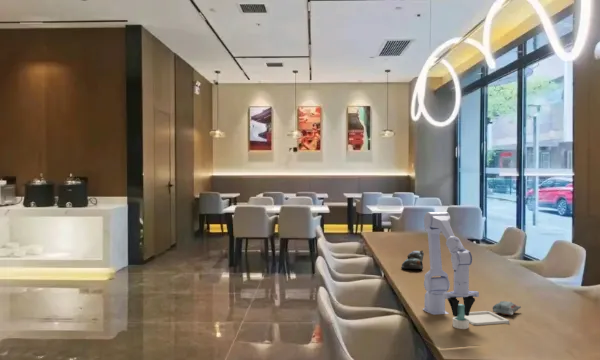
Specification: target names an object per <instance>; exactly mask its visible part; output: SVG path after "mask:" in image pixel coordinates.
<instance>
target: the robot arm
mask: <svg viewBox="0 0 600 360" xmlns="http://www.w3.org/2000/svg"><path fill="white" fill-rule="evenodd" d="M451 220H452V219H451V215H450V213H449V212H448V211H442V212H441V211H437V212H436V211H434V212H433V211H431V212H430V211H427V212H425V215H424V217H423V223H424V225H423V227H424V231H426V233H427V242H428V255H429V268H430V269H429V270H428V271H427V272H426V273H425V274H424V280H423V288H424V290H425V291H426V292H425V293H424V308H422V310H423V311H425V312H427V313H428V314H430V315H447V314H448V315H449V314H450V313H449V312H447V310H446V300H447V301H448V303H449V305H450V308H451V312H452V313H451V314H452V316H453V317H457V315H458V304H460V300H458V299H459V298H462V299H463V305H465V315H466V316H469V312H471V308H472V307H473V305H474V303H475V301H476V298H479V297H480V294H479V291H476V290H470V266H471V265H472V264H473V255H472V253H471V251H470V250H468V249H467V248H465V246H464V245H463V243H462V241H461V239H460V238H459V237H458V236H455V234H454V230H453V229H452V226H451ZM441 233H442V235H443V236H444V238H445V239H446V241H445V245H446V247H447V248H448V251H449V253H450V255H451V256H450V261H451V264H452V266H451V268H452V270H453V290H451V291H449V290H450V287H451V283H450V280H449V279H450V278H449V275H448V273H447V272H446V271H444V270H443V263H442V252H441V251H442V250H441V238H440V234H441ZM475 297H476V298H475Z"/></svg>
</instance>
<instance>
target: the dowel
mask: <svg viewBox="0 0 600 360" xmlns="http://www.w3.org/2000/svg"><path fill="white" fill-rule="evenodd" d="M464 318H465V305H464V303H459V304H458V315H457V320H461V321H464Z"/></svg>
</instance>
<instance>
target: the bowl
mask: <svg viewBox="0 0 600 360" xmlns="http://www.w3.org/2000/svg"><path fill="white" fill-rule="evenodd" d="M469 327H470V323H469V319H468V318H464V321H461V320H457V317H455V316H453V317H452V328H455V329H458V330H459V329H460V330H466V329H469Z"/></svg>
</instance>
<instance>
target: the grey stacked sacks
mask: <svg viewBox="0 0 600 360" xmlns="http://www.w3.org/2000/svg"><path fill="white" fill-rule="evenodd" d="M424 255H425V254H424V250H412V251H411V252H409V253H408V255H407V258H406V259H405V260H404V261H403V262H402V264H401V266H400V269H402V270H406V269H408V270H409V269H411V270H419V269H420V271H423V270H422V269H424V264H423V260H424Z"/></svg>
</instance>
